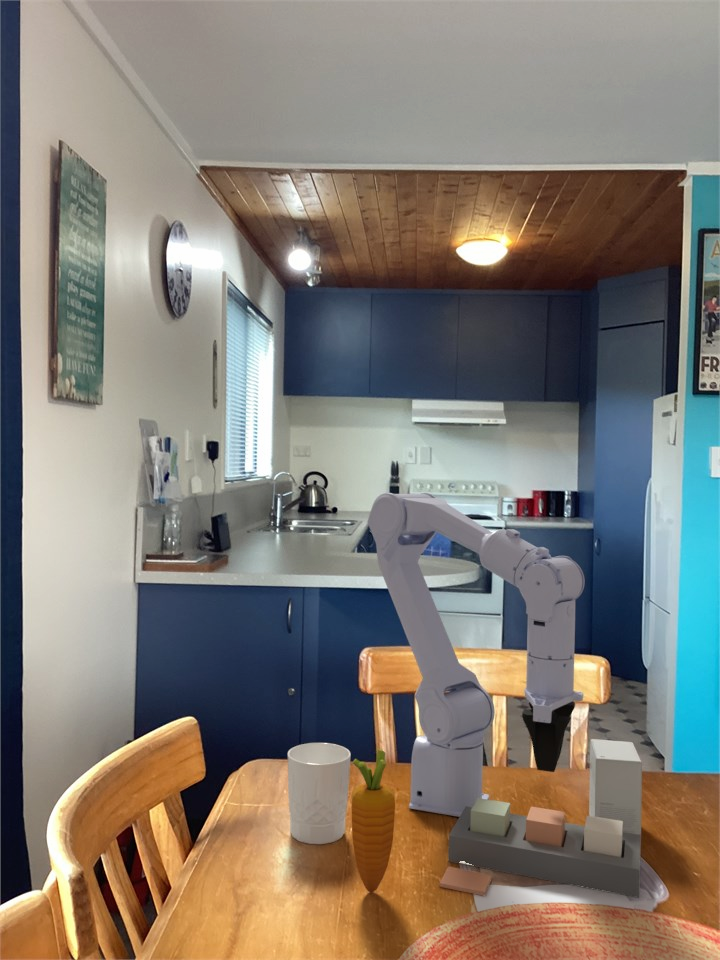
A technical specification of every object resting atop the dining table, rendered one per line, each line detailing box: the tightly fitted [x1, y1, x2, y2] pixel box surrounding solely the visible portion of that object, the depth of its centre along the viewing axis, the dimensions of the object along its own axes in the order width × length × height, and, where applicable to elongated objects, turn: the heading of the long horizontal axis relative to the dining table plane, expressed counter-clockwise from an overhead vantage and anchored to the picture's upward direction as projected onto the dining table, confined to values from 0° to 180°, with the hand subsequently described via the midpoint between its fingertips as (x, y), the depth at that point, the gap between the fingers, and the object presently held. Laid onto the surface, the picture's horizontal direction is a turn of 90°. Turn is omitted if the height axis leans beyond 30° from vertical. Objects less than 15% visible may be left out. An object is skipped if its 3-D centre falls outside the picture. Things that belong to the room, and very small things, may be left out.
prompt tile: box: [439, 866, 493, 896], centre depth 88 cm, size 5×4×1 cm
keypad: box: [447, 806, 642, 898], centre depth 93 cm, size 21×9×3 cm, turn 70°
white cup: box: [287, 742, 351, 845], centre depth 100 cm, size 8×8×10 cm
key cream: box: [584, 815, 623, 857], centre depth 91 cm, size 4×4×4 cm
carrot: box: [351, 748, 396, 894], centre depth 85 cm, size 5×5×15 cm
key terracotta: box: [526, 806, 566, 847], centre depth 93 cm, size 4×4×4 cm
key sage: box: [470, 798, 511, 837], centre depth 96 cm, size 4×4×4 cm
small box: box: [588, 738, 643, 836], centre depth 102 cm, size 8×6×10 cm
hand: (548, 764), depth 99 cm, fingers open, 3 cm apart
